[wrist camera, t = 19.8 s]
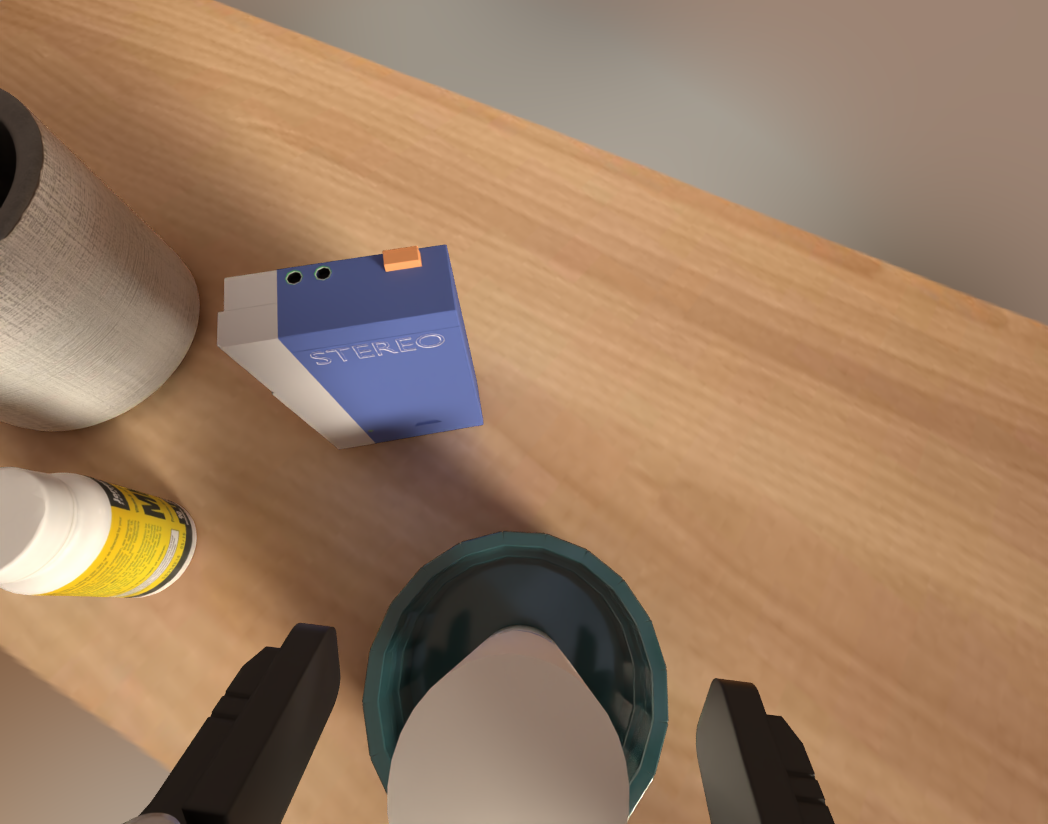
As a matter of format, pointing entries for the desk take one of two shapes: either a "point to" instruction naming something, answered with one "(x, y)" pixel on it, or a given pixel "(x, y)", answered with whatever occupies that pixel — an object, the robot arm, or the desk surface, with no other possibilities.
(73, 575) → the supplement bottle
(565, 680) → the tube
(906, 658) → the desk surface
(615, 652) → the bowl
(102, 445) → the desk surface
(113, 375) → the planter
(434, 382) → the walkman
